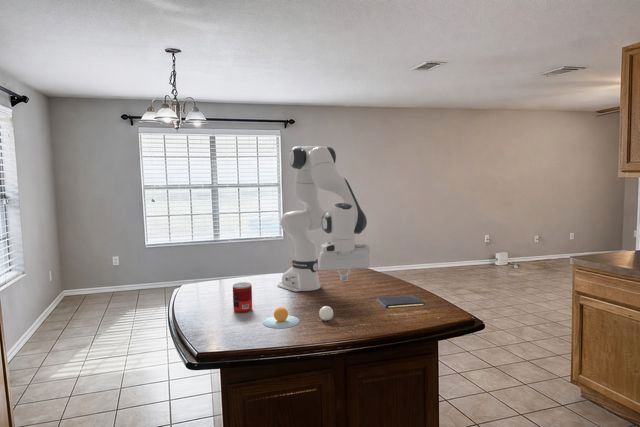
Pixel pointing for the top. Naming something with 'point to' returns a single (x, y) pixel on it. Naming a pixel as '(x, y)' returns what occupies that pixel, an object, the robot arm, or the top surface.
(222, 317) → the top surface
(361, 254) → the robot arm
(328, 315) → the white ping pong ball
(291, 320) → the light blue disc
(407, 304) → the wallet
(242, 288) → the canned food
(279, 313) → the orange ball
